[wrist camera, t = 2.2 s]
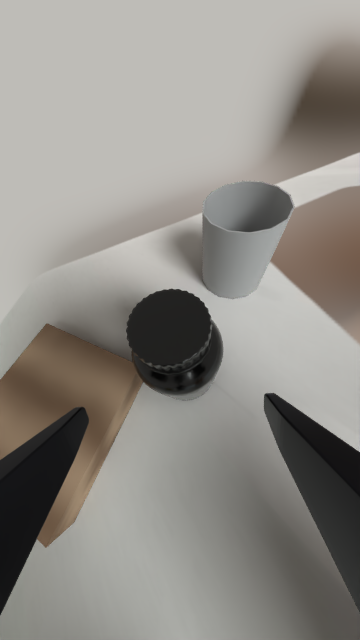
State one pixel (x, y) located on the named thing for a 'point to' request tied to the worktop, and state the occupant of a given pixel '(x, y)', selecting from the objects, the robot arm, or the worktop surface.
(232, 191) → the cup
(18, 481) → the robot arm
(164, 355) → the supplement bottle
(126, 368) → the walnut block
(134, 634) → the worktop surface
